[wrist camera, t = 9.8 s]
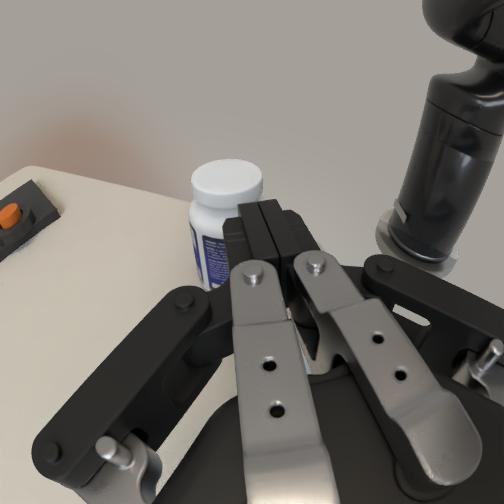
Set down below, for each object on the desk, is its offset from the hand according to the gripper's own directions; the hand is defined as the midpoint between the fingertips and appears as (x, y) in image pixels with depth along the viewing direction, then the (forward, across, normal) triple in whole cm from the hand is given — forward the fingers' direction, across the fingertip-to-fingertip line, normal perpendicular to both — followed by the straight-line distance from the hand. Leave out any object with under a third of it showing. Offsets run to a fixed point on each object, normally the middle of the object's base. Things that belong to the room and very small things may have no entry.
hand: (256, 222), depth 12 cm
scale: (+23, +30, +8) cm, 39 cm away
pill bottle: (+10, +1, +11) cm, 15 cm away
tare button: (+19, +27, +6) cm, 34 cm away
